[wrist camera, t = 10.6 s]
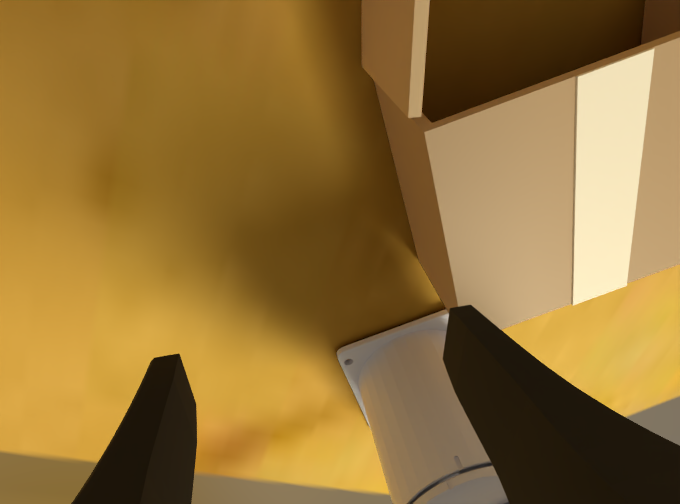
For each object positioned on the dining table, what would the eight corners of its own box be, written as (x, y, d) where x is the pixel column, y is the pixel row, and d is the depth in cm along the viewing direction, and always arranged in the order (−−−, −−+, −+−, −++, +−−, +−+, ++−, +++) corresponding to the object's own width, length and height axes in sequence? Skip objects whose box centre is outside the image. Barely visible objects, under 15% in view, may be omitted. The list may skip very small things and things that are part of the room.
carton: (634, 180, 25) (734, 246, 20) (418, 260, 25) (466, 344, 20) (657, -30, 19) (808, -9, 14) (372, 76, 19) (425, 133, 14)
